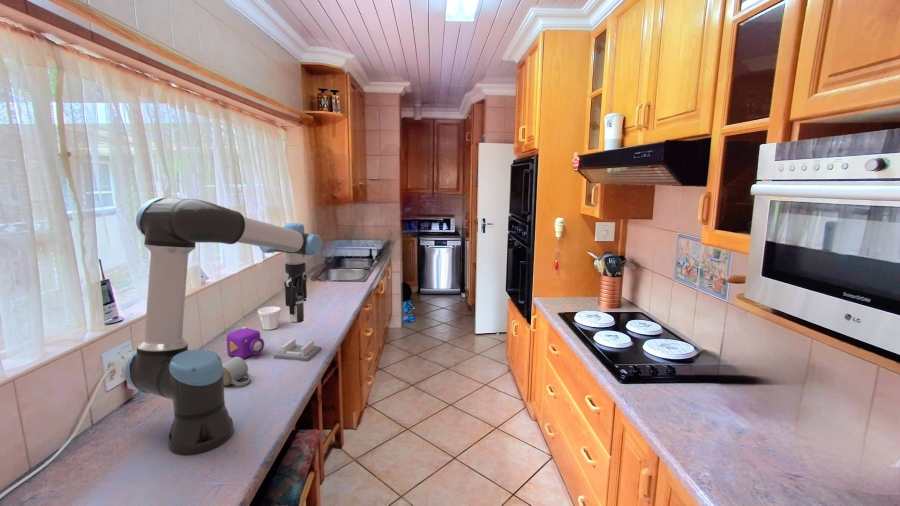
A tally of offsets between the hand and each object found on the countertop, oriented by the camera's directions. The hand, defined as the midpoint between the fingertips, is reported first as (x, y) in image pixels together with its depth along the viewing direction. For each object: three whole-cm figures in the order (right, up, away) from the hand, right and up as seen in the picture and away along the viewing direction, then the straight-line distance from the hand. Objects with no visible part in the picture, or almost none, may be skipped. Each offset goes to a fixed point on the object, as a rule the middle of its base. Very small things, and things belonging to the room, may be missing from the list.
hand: (297, 319), depth 163 cm
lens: (0, -1, 0) cm, 1 cm away
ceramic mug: (-13, -19, -22) cm, 32 cm away
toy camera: (-20, -15, 0) cm, 25 cm away
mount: (0, -15, +3) cm, 15 cm away
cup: (-24, -9, +30) cm, 39 cm away
